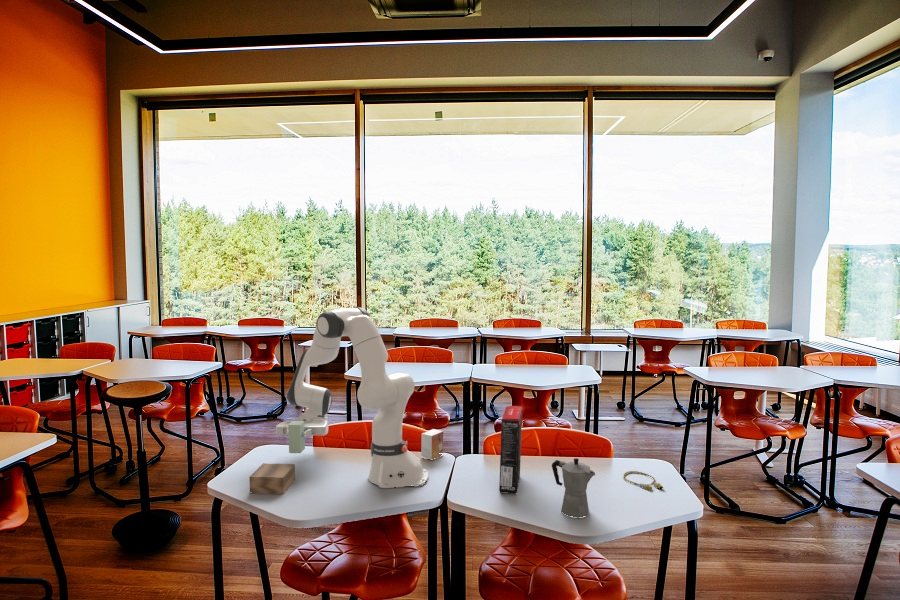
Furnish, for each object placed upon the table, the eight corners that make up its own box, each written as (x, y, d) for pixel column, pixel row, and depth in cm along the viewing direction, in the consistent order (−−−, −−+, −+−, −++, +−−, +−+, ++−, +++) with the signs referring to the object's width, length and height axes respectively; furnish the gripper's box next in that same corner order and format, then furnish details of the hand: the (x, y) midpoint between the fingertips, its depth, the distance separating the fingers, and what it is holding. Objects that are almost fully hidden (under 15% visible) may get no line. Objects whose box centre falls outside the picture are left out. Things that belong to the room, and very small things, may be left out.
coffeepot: (600, 512, 175) (601, 459, 174) (587, 523, 168) (588, 468, 167) (558, 498, 185) (559, 448, 184) (544, 508, 178) (545, 456, 177)
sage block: (304, 448, 210) (304, 421, 209) (300, 453, 205) (299, 425, 204) (293, 448, 210) (292, 420, 209) (289, 453, 205) (288, 424, 204)
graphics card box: (503, 474, 206) (504, 404, 203) (521, 475, 205) (522, 405, 202) (498, 494, 189) (499, 418, 187) (518, 495, 188) (519, 419, 185)
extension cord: (628, 491, 193) (629, 485, 193) (620, 473, 208) (620, 468, 208) (664, 492, 191) (664, 487, 191) (652, 474, 207) (653, 469, 207)
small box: (431, 461, 219) (431, 436, 218) (421, 458, 222) (420, 433, 221) (443, 455, 225) (443, 431, 224) (433, 452, 228) (433, 428, 227)
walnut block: (295, 479, 200) (294, 464, 200) (283, 494, 188) (282, 477, 188) (263, 479, 201) (263, 463, 200) (249, 493, 189) (249, 476, 188)
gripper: (282, 416, 220) (269, 426, 206) (331, 416, 219) (321, 427, 205) (282, 431, 221) (269, 442, 207) (331, 431, 220) (321, 443, 206)
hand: (295, 435), depth 206 cm, fingers closed on sage block, 4 cm apart
